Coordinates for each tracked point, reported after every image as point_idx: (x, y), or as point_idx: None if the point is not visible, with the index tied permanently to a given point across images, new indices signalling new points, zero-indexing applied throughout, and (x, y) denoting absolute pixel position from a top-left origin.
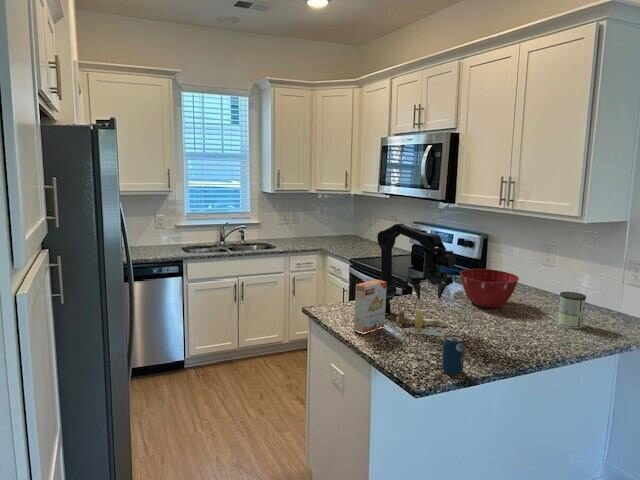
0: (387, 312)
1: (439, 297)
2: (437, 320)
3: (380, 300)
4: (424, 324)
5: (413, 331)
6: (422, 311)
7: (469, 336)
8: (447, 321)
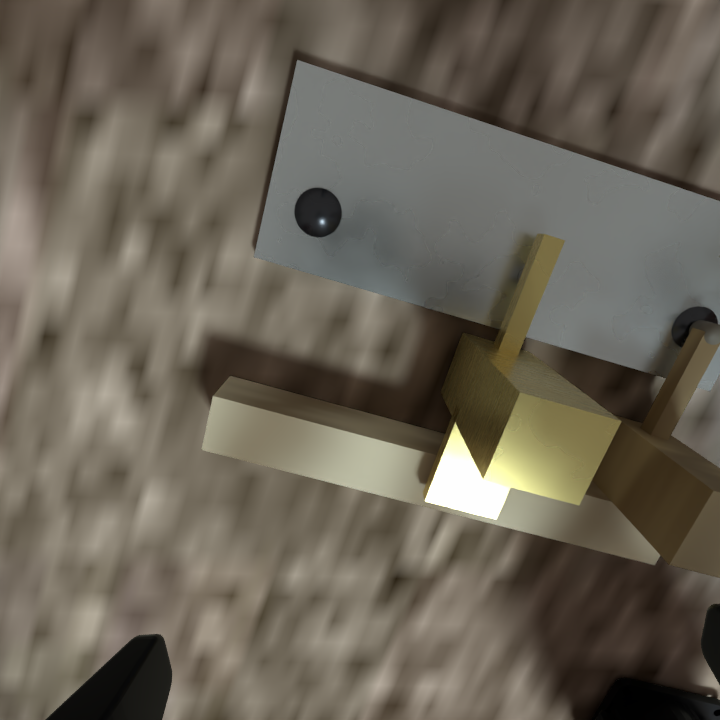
0: (625, 710)
1: (134, 662)
2: (262, 440)
3: None
4: (401, 426)
5: (602, 227)
6: (495, 458)
7: (3, 71)
8: (139, 519)
